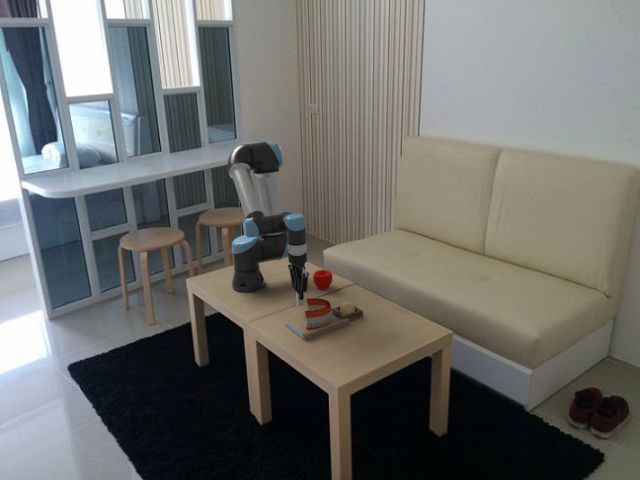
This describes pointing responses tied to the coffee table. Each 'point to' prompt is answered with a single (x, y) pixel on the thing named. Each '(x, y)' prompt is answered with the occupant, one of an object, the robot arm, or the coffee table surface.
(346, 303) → the pale yellow sphere
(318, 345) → the coffee table surface
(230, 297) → the coffee table surface
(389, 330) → the coffee table surface
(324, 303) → the toy
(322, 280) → the apple
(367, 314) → the coffee table surface
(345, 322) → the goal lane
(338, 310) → the base
